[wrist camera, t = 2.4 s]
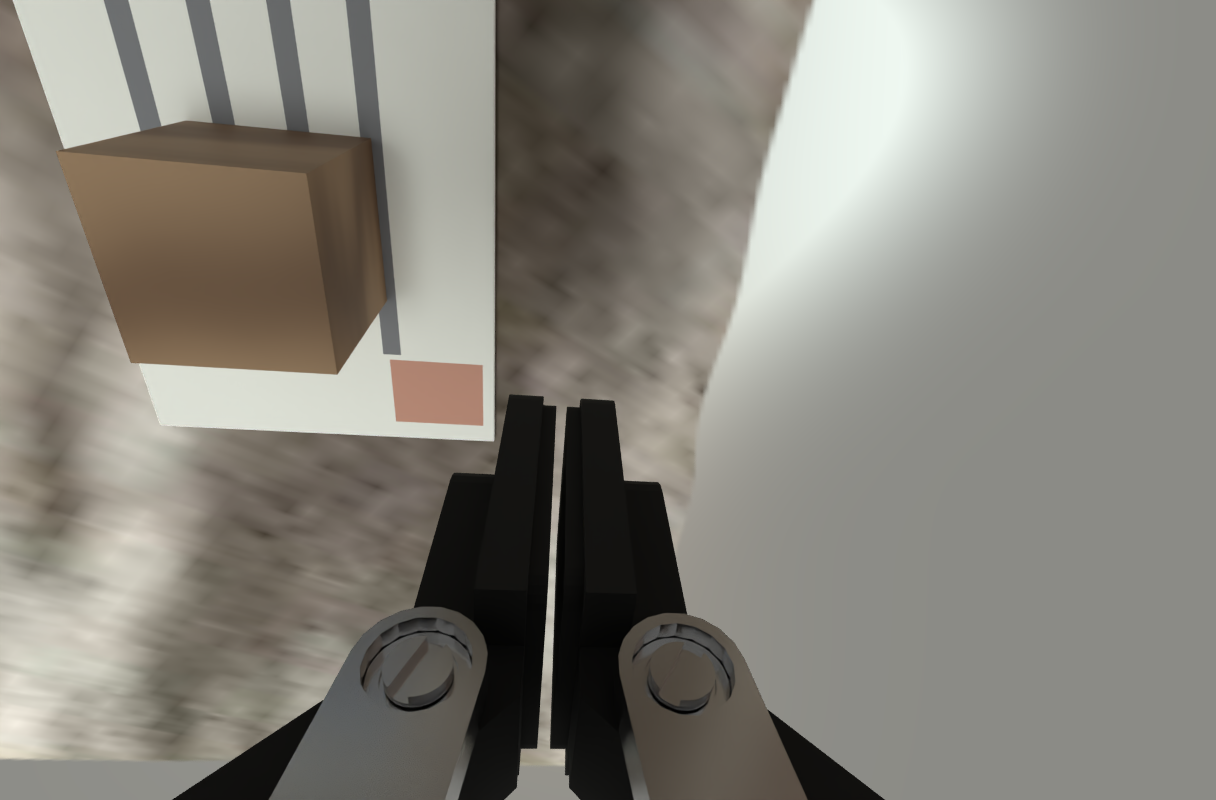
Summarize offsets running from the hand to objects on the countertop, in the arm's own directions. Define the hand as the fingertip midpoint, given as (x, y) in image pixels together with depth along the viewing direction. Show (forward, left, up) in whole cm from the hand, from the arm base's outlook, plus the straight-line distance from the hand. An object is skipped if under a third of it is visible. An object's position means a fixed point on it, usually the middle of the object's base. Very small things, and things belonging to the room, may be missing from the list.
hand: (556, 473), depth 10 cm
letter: (-1, -8, -11) cm, 14 cm away
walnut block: (-1, -8, -11) cm, 14 cm away
